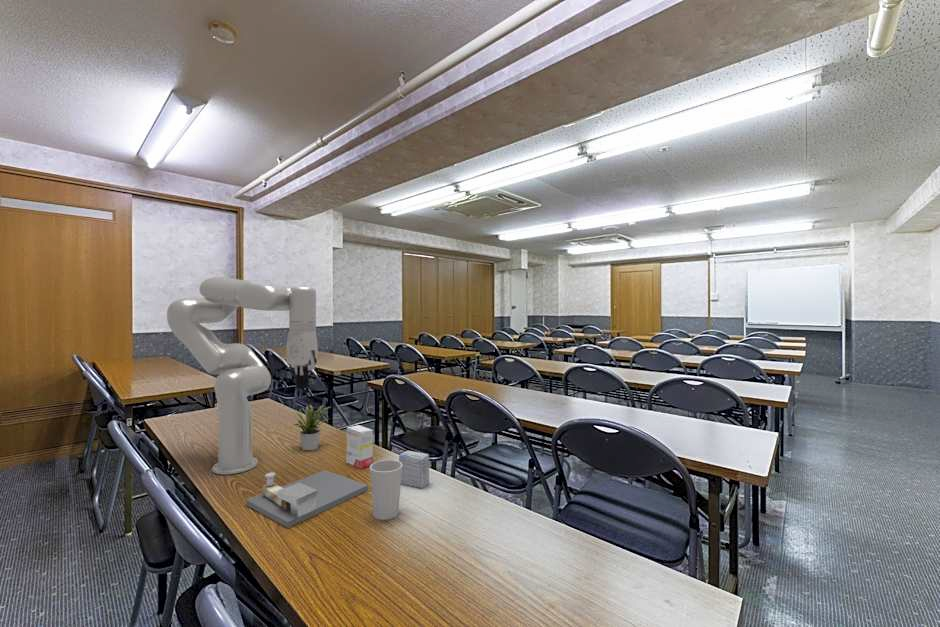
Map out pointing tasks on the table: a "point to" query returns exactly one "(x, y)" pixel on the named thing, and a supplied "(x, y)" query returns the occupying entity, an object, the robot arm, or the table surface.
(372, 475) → the cup
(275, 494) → the link
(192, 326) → the robot arm
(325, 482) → the board
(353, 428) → the ink box
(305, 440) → the house plant
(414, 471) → the medicine box
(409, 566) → the table surface
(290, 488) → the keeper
